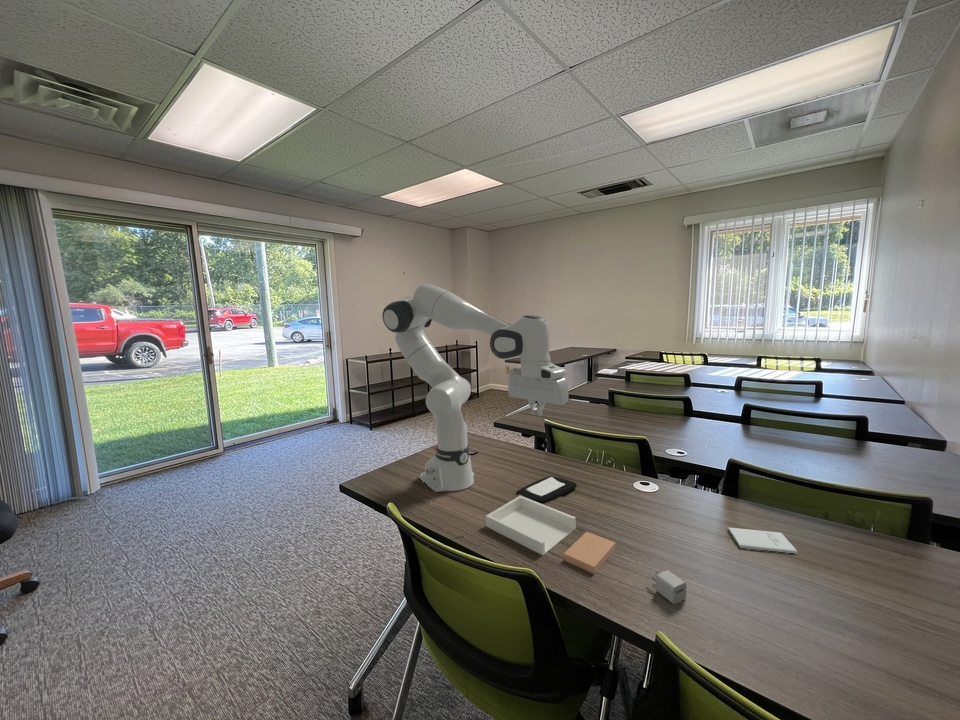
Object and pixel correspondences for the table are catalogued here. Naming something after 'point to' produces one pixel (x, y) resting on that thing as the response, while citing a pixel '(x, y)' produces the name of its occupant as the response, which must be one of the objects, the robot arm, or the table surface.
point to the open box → (531, 524)
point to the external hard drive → (761, 540)
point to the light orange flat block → (590, 552)
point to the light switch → (547, 489)
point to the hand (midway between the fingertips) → (537, 414)
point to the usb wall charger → (670, 586)
